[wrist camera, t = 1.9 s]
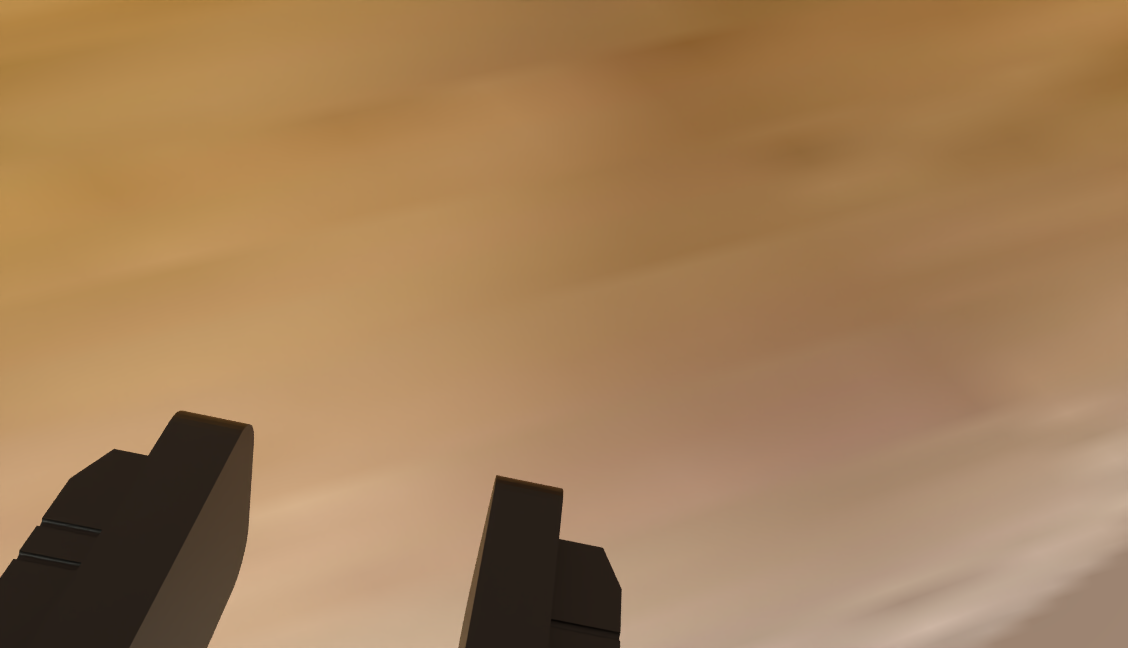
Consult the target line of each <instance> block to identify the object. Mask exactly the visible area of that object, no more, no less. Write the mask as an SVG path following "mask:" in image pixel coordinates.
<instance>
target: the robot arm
mask: <svg viewBox="0 0 1128 648" xmlns="http://www.w3.org/2000/svg"><path fill="white" fill-rule="evenodd" d="M253 447H254V431H253V427H252V425H250V424H245V423H240V422H235V421H230V420H225V419H221V418H216V417H211V416H206V415H201V414H196V413H191V412H186V411H179V412H177V413H176V414H175V415H174V416H173V417H172V419H171V420H170V422H169V423H168V425H167V426H166V428H165V430H164V431H163V433H162V434H161V436H160V438H159V439H158V441H157V442H156V444H155V446H154V447H153V449H152V450H151V452H150V454H149V455H148V456H147V455H142V454H137V453H132V452H127V451H122V450H117V449H113V450H112V451H110V452H109V453H107V454H106V455H104V456H103V457H101V458H100V459H98V460H97V461H95V462H94V463H92V464H91V465H89V466H88V467H86V468H85V469H83V470H82V471H80V472H79V473H77V474H76V475H74V476H73V477H72V478H70V479H69V481H68V482H67V483H66V485H65V486H64V488H63V489H62V490H61V492H60V493H59V495H58V496H57V498H56V499H55V500H54V502H53V503H52V505H51V506H50V508H49V509H48V510H47V512H46V513H45V515H44V516H43V518H42V523H41V525H40V526H36V528H35V529H34V530H33V532H32V533H31V535H30V536H29V538H28V539H27V540H26V542H25V543H24V545H23V546H22V548H21V549H20V550H19V556H18V558H17V559H13V560H12V562H11V563H10V565H9V566H8V568H7V569H6V570H5V572H4V573H3V575H2V576H1V578H0V648H207V647H208V644H209V642H210V640H211V638H212V635H213V633H214V631H215V629H216V626H217V624H218V622H219V620H220V617H221V615H222V613H223V611H224V608H225V606H226V604H227V601H228V599H229V597H230V595H231V592H232V590H233V588H234V585H235V582H236V580H237V577H238V574H239V571H240V567H241V564H242V560H243V556H244V552H245V547H246V542H247V535H248V526H249V510H250V494H251V479H252V463H253ZM562 503H563V489H561V488H556V487H552V486H547V485H542V484H537V483H532V482H527V481H522V480H517V479H512V478H507V477H502V476H498V475H496V478H495V482H494V486H493V491H492V495H491V499H490V504H489V508H488V513H487V517H486V521H485V526H484V530H483V535H482V539H481V543H480V548H479V552H478V556H477V561H476V565H475V570H474V574H473V579H472V583H471V588H470V592H469V597H468V602H467V607H466V612H465V616H464V621H463V626H462V632H461V637H460V642H459V647H458V648H620V641H619V636H620V627H621V590H622V589H621V587H620V585H619V582H618V580H617V578H616V576H615V574H614V571H613V569H612V567H611V565H610V562H609V560H608V558H607V556H606V553H605V551H604V549H603V548H601V547H596V546H591V545H586V544H581V543H576V542H571V541H566V540H561V539H559V533H560V523H561V513H562Z"/></svg>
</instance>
